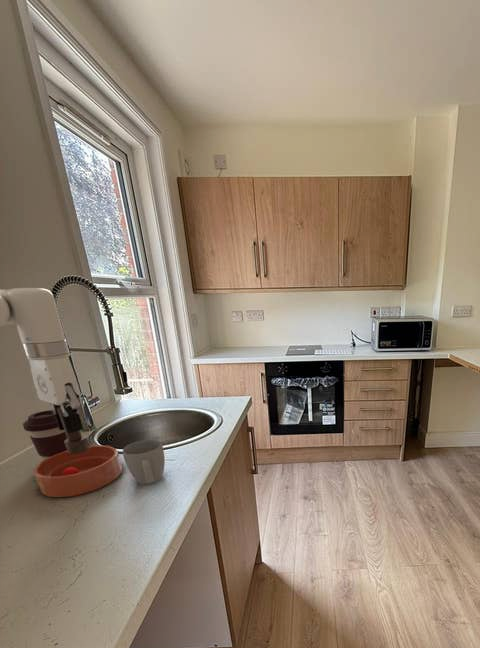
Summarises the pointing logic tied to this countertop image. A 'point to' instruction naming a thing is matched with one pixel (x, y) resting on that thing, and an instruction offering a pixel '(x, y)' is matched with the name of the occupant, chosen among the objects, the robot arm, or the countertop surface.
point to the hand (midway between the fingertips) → (71, 429)
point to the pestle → (74, 438)
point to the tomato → (70, 471)
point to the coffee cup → (45, 434)
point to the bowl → (93, 467)
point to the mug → (145, 460)
